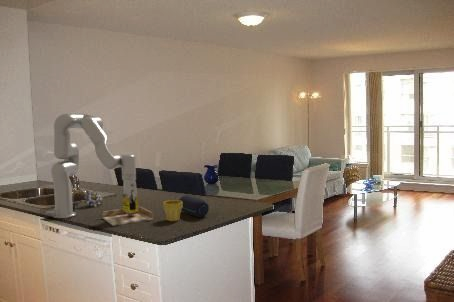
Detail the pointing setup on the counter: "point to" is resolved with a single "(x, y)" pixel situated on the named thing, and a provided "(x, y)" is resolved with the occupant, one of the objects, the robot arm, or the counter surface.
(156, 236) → the counter surface
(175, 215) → the plant pot
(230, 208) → the counter surface
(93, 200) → the passion flower
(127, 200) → the supplement box
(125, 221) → the arena
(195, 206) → the portable speaker
